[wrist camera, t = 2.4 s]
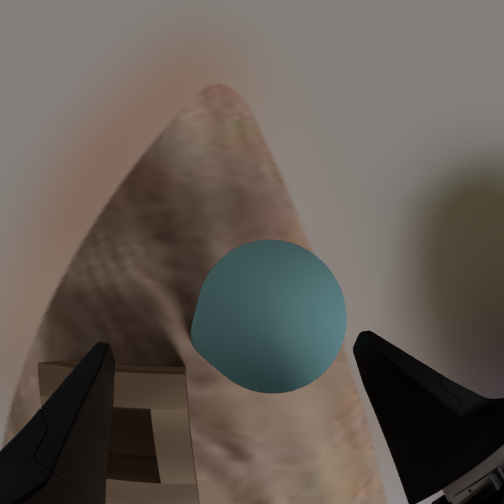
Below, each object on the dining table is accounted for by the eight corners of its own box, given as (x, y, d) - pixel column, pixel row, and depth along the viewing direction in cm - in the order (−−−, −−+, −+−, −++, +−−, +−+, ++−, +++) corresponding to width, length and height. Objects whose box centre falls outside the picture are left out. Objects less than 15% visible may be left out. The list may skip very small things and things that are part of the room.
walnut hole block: (196, 475, 14) (200, 508, 10) (83, 467, 12) (61, 492, 8) (185, 366, 17) (184, 373, 12) (68, 360, 15) (37, 362, 11)
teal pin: (241, 358, 18) (351, 380, 6) (191, 360, 17) (201, 399, 5) (238, 309, 19) (336, 241, 6) (189, 310, 18) (195, 238, 6)
